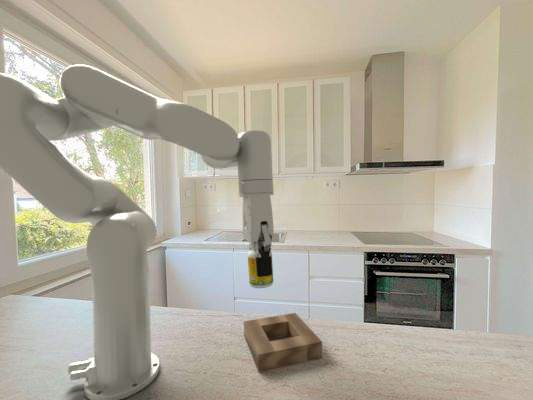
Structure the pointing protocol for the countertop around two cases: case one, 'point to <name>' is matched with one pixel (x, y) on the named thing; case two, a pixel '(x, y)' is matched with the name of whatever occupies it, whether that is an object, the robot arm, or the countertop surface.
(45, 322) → the countertop surface
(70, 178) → the robot arm
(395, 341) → the countertop surface
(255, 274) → the supplement bottle
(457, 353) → the countertop surface
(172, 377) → the countertop surface
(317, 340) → the socket block
